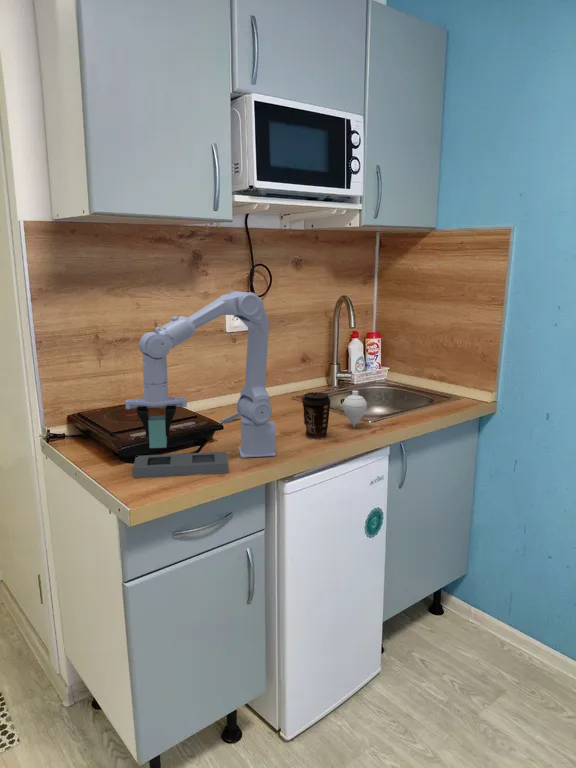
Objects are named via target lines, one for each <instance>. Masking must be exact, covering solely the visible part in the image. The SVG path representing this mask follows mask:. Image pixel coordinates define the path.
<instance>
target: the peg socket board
mask: <svg viewBox="0 0 576 768" xmlns="http://www.w3.org/2000/svg"><path fill="white" fill-rule="evenodd" d="M137 456H138V457H136V456H135V458H134V461H133V462H134V463H133V466H132V478H133V479H142V478H158V477H159V478H160V477H161V478H162V477H163V478H164V477H178V476H181V477H182V476H197V475H196V474H201V475H214V474H215V475H216V474H218V473H219V474H229V460H228V455H227V451H215V452H214V451H211V452H209V451H208V452H191V453H189V452H188V453H170V454H169V453H168V454H167V453H166V454H165V453H164V454H149V455H148V454H147V455H137Z"/></svg>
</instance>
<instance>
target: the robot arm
mask: <svg viewBox="0 0 576 768" xmlns="http://www.w3.org/2000/svg"><path fill="white" fill-rule="evenodd" d="M221 316H233V317H236V318H238V319H239V320H240V321H241V322H242V323H243V324H244V325H245V326H246V327H247V328H248V329H247V346H246V361H245V379H244V380H245V381H244V386H243V387H242V388H241V390H240V394H239V397H238V399H237V402H236V411H237V412H238V413H239V414H240V415H241V416H240V446H238V451H239V455H240V458H261V457H275V456H277V453H276V452H277V451H276V450H277V449H276V447H277V446H276V444H277V443H276V437H277V436H276V435H277V434H276V424H275V421H274V420H270V419H271V416H272V414H273V409H272V405H271V403H270V394H269V393H268V391H267V389H266V379H267V362H268V361H267V359H268V345H269V332H270V331H269V329H270V320H269V317H268V315H267V313H266V310H265V308H264V300H262V299H261V298H260V297H259V295H257V294H256V293H254V292H251V291H250V292H245V291H240V290H231V291H229V292H227V293H225V294H222V295H221V296H219V297H217V298H216V299H215V300H214V301H211V302H210V303H209V304H207V305H206V306H204V307H202V308H200V309H199V310H198V311H196V312H194V313H192V314H191V315H190V316H188V317H186V316H184V315H180V316H176V315H174V316H173V317H171V318H170V319H171V321H169V322H168V323H166V324H164V325H162V326H161V327H160V326H156V327H155V328H154V330H155V331H154V332H153V331H149V332H146V333H144V334H143V335H142V336H141V338H140V339H139V343H137V345H138V350H139V351H140V352H141V353H142V377H143V397H142V398H133V399H125V402H124V403H125V410H131V409H136V413H137V416H138V417H139V419H140V421H141V423H142V425H143V428H144V431H145V435H146V438H149V425H148V420H149V416H150V415H149V413H150V412H149V408H150V409H152V408H153V409H155V408H156V409H157V408H165V416H166V436H167V437H169V436H170V429H171V424H172V423H173V422H172V421H173V419H174V416H175V413H176V411H177V408H178V407H180V408H181V407H182V408H187V407H188V406H187V405H188V404H187V402H188V400H187V399H188V398H187V397H172V396H171V397H169V385H168V384H169V383H168V382H169V381H168V363H167V361H168V360H167V356H168V354H169V353H170V351H171V349H174V348H175V347H177V346H179V345H180V344H182V343H184V342H185V341H187V340H189V339H190V338H192V337H193V336H194V334H195V330H196V329H198V328H199V327H202V326H203V325H204V326H205V324H208V323H209V322H212V321H213V320H215V319H218V318H219V317H221Z"/></svg>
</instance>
